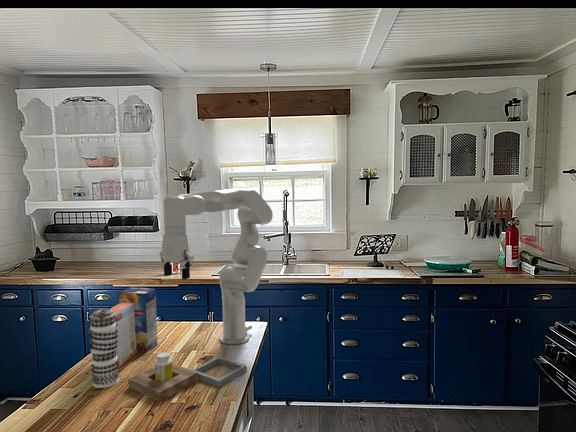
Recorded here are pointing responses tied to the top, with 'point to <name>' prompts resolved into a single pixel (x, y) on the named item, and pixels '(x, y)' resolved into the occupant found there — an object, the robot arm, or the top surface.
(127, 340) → the cracker box
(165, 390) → the socket block
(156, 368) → the supplement bottle
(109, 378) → the decorative candle
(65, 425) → the top surface
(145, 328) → the blue cardboard box
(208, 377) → the square frame
